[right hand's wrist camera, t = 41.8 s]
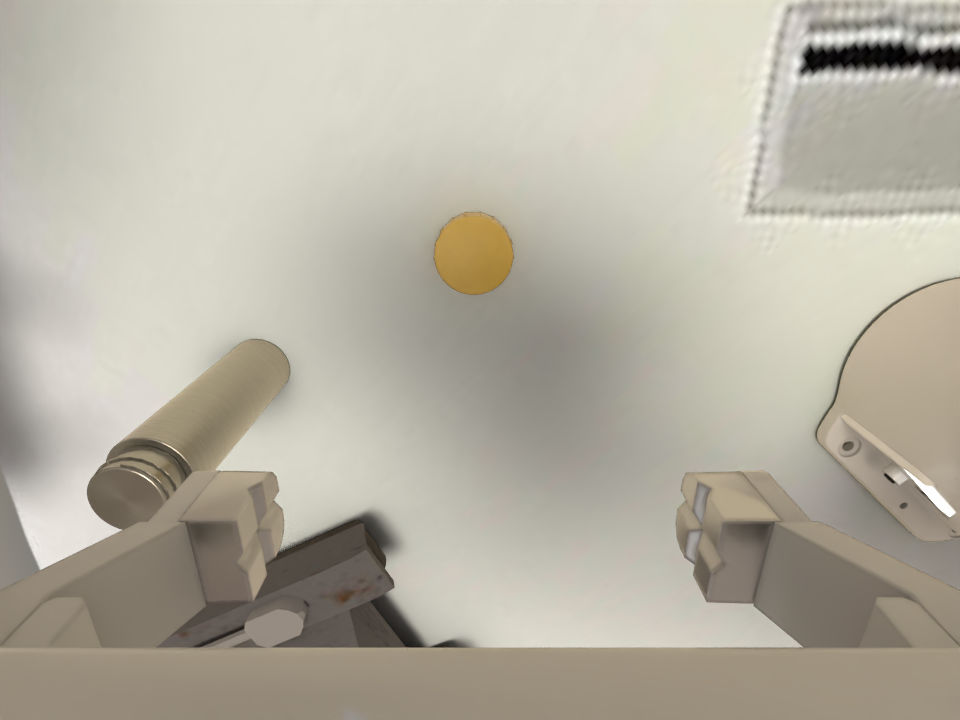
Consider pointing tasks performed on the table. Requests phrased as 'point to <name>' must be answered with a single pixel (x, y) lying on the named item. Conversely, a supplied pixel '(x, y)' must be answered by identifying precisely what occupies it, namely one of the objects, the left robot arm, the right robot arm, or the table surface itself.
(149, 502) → the thermos bottle
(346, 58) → the table surface
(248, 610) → the toy
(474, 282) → the lid
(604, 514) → the table surface
